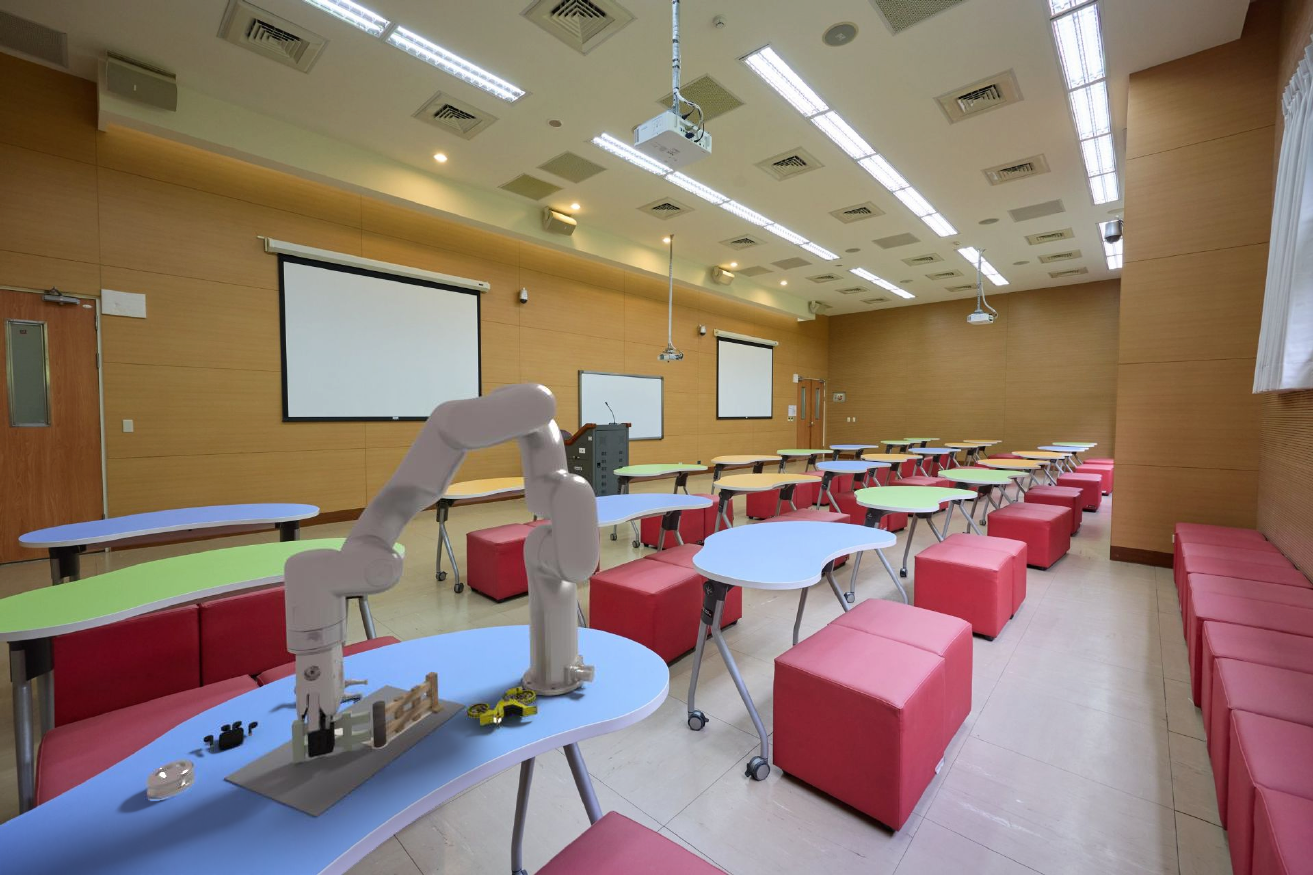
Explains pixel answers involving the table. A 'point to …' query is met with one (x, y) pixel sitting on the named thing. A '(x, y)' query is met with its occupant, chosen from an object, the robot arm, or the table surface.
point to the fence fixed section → (397, 708)
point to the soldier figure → (348, 683)
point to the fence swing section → (340, 741)
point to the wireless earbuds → (231, 735)
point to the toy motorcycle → (505, 707)
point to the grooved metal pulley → (170, 779)
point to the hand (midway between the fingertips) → (321, 751)
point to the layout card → (337, 759)
